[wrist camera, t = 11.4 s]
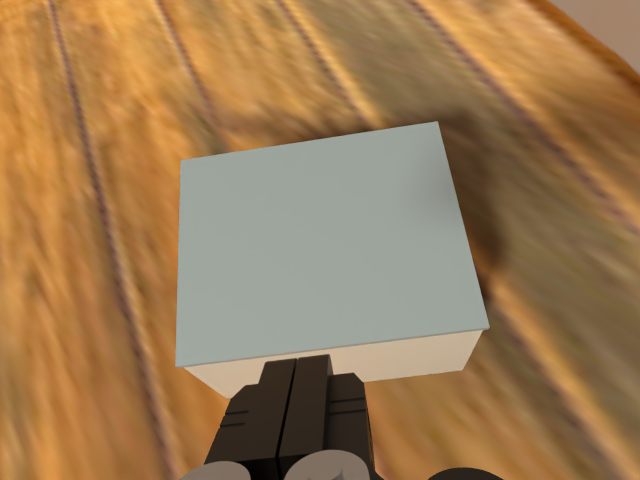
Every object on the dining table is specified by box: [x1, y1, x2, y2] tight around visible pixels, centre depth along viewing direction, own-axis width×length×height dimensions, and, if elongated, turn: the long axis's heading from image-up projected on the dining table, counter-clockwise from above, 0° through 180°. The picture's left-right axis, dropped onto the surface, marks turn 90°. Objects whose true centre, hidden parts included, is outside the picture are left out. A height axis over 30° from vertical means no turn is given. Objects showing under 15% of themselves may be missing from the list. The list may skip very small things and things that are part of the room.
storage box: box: [184, 330, 483, 399], centre depth 40 cm, size 20×16×10 cm
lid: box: [176, 121, 489, 368], centre depth 35 cm, size 21×16×1 cm
